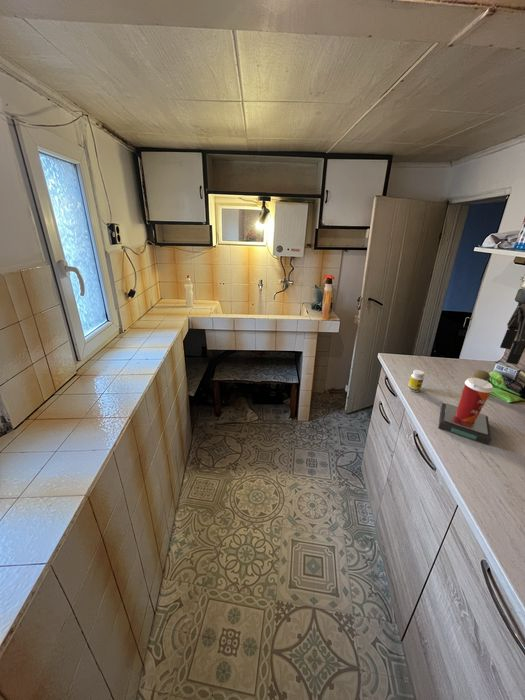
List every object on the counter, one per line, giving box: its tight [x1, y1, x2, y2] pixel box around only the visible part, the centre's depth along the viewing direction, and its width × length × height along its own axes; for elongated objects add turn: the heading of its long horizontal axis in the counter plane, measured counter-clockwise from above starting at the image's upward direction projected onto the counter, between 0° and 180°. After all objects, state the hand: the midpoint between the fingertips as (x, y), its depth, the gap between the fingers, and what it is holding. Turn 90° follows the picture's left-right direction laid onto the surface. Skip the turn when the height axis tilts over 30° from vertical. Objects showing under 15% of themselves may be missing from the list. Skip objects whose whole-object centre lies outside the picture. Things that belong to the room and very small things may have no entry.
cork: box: [473, 369, 491, 382], centre depth 114 cm, size 6×6×11 cm
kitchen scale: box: [437, 402, 492, 446], centre depth 97 cm, size 14×14×3 cm
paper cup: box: [456, 377, 494, 423], centre depth 94 cm, size 8×8×14 cm
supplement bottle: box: [407, 369, 425, 393], centre depth 117 cm, size 5×5×8 cm
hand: (508, 355), depth 91 cm, fingers open, 13 cm apart
